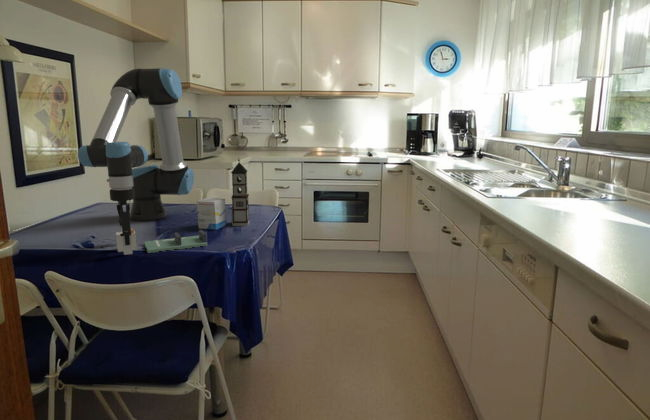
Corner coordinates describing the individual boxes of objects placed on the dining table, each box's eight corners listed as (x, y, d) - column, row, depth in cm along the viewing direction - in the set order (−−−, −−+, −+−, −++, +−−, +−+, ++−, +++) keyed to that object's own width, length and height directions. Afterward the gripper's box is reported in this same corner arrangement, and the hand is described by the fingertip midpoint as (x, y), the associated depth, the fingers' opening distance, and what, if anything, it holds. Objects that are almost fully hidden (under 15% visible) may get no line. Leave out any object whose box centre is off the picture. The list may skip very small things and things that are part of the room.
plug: (117, 249, 159) (115, 229, 158) (135, 246, 162) (134, 227, 160) (117, 252, 156) (116, 232, 154) (136, 249, 158) (135, 230, 157)
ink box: (227, 225, 193) (225, 198, 190) (216, 230, 185) (214, 201, 182) (209, 223, 195) (208, 196, 193) (197, 228, 188) (196, 200, 185)
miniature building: (248, 225, 192) (246, 154, 186) (231, 226, 192) (228, 154, 185) (249, 221, 199) (247, 152, 193) (233, 222, 199) (230, 152, 192)
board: (144, 244, 165) (143, 233, 164) (200, 237, 174) (200, 227, 173) (147, 253, 154) (147, 241, 153) (207, 245, 163) (207, 235, 162)
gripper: (108, 183, 163) (113, 241, 168) (110, 194, 142) (116, 260, 146) (130, 182, 167) (135, 238, 171) (136, 193, 145) (141, 257, 149)
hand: (126, 248), depth 159 cm, fingers open, 13 cm apart
